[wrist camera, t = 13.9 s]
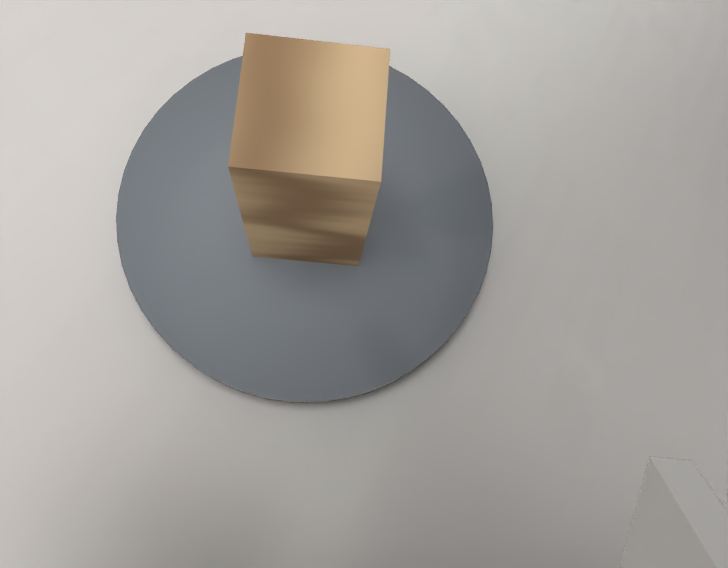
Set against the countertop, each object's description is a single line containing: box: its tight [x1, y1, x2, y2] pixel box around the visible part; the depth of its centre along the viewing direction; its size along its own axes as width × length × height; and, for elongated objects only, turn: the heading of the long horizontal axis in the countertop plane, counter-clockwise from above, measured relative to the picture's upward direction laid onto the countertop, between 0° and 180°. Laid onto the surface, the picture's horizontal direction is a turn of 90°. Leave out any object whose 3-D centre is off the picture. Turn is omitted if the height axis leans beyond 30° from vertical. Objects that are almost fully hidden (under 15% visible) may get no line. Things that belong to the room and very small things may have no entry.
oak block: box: [228, 33, 390, 266], centre depth 27 cm, size 5×5×10 cm
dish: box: [116, 56, 493, 402], centre depth 33 cm, size 18×18×2 cm
